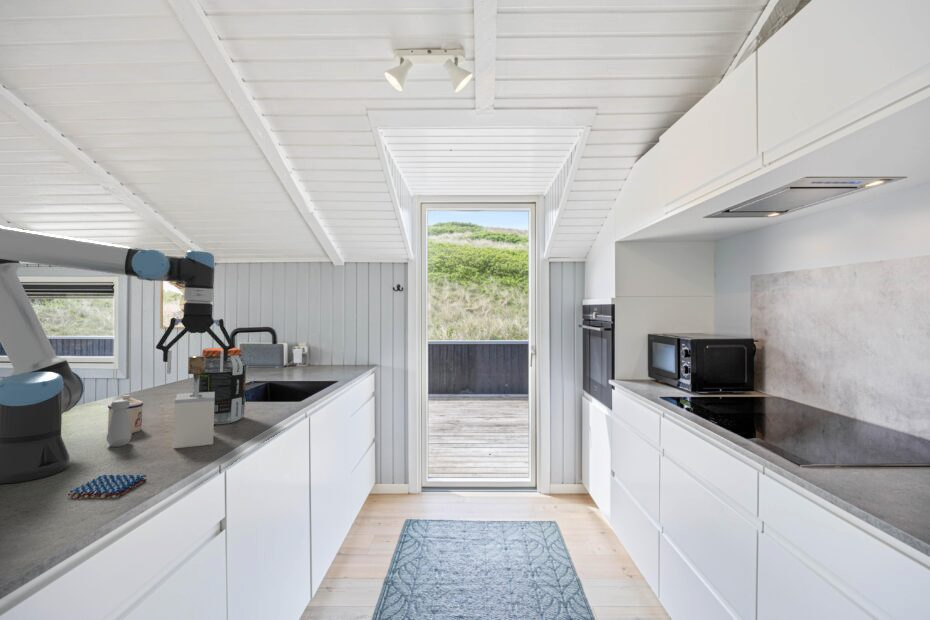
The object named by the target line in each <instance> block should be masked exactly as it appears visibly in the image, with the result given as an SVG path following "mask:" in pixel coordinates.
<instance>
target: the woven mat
mask: <svg viewBox="0 0 930 620" xmlns="http://www.w3.org/2000/svg"><path fill="white" fill-rule="evenodd" d="M146 477H147V474H143V475H142V474H138V475H137V474H135V475H134V474H114V473H113V474H103V475H99V476H98V477H97V478H93V479H92V480H91V481H87V482H86V483H84V484H81V486H77V487H75V489H73V490H72V489H70V491H69V492H70V493H68V494H67V496H70V497H68V498H67V499H68V500H70V499H77V498H78V500H79V499H80V500H81V499H83V498H84V499H89V498H90V499H95V498H96V499H99V498H100V499H105V498H106V499H110V498H112V499H117V498H119V497H120V496H123V494H125V493H127V492H129V491H130V490H132V489H134V488H135V487H137V486H139V485H141V484H142V483H144V482H146V481H147V478H146ZM133 487H134V488H133Z"/></svg>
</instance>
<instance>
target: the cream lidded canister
mask: <svg viewBox="0 0 930 620" xmlns="http://www.w3.org/2000/svg"><path fill="white" fill-rule="evenodd" d="M118 400H128V401H129V408H127V413H128V419H129V424H130V430H131V434H134V433H137V432H140V431H141V430H142V429H143V428H142V427H143V406H144V402H143V401H142V400H139V399H136V398H133V397H131V395H130V394H126V395H125V394H123V395H122V397H121V398H119V399H118ZM111 403H112V402H110V403H109V404H108V406H107V408H108V417H107V419H108V422H107V423H108V424H107V431H108V430H109V426H110V422H111V418H112V414H113V409H111Z"/></svg>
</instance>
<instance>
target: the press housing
mask: <svg viewBox="0 0 930 620" xmlns="http://www.w3.org/2000/svg"><path fill="white" fill-rule="evenodd" d="M214 401H215V392H200V393H199V396H197V397H193V392H187V393H183V392H182V393H177V394H176V396H175V399H174V411H173V412H174V414H173V415H174V417H173V442H172V443H173V444H172V448H173V449H182V448H190V447H200V446H207V445H214V429H215V428H214V425H215V424H214Z"/></svg>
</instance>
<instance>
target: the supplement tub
mask: <svg viewBox="0 0 930 620" xmlns="http://www.w3.org/2000/svg"><path fill="white" fill-rule="evenodd" d="M221 350H223V348H222V347H212V348H211V347H209V348H203V349H202V352H201V356H205V373H203V374H200V375H199V393H200V392H215V401H214V425H223V424H224V425H225V424H231V423H234V422H236V421H237V422H238V421H240V420H241V419H243V418H244V417H245V416H244V415H245V407H246V405H245V404H246V402H245V401H246V376H247V375H246V374H247V373H246V371H247V365H246V364H247V363H246V361H245V360H244V358H243V355H242V348H239V347H234V348H233V349H229V350H228V358H227V361H223V372H220V357H221Z"/></svg>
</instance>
